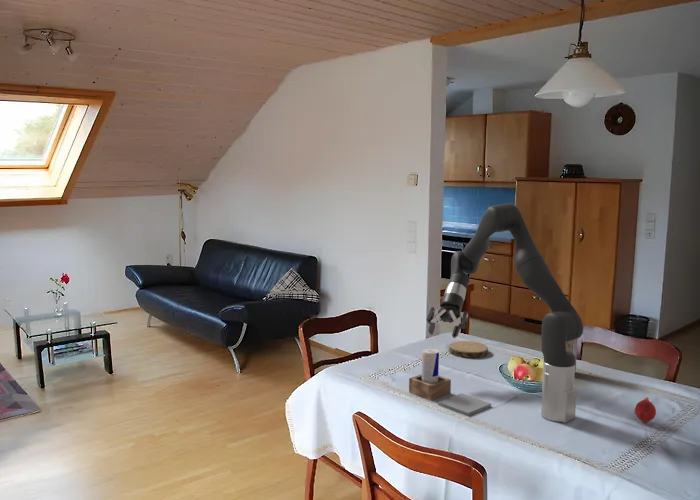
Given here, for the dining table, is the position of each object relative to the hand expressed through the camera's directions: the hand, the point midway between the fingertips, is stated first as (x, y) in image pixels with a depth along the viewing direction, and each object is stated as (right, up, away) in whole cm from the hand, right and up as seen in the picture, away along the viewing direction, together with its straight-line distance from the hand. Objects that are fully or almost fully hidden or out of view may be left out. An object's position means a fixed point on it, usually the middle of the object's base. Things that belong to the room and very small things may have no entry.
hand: (442, 335), depth 215 cm
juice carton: (+49, -17, +15) cm, 53 cm away
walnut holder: (-5, -19, -7) cm, 21 cm away
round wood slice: (+17, -13, +40) cm, 46 cm away
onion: (+57, -23, -31) cm, 68 cm away
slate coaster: (+5, -20, -18) cm, 28 cm away
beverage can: (-5, -19, -7) cm, 21 cm away
